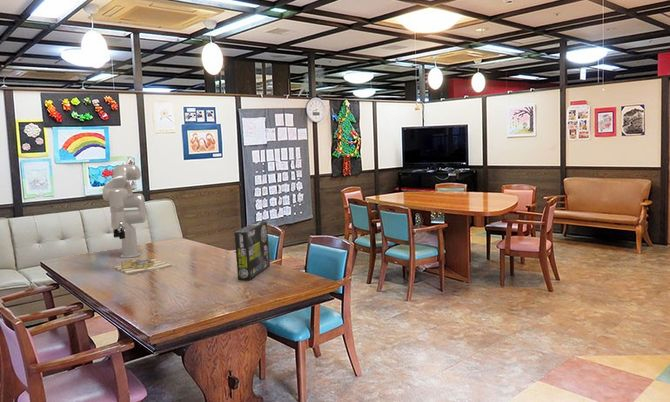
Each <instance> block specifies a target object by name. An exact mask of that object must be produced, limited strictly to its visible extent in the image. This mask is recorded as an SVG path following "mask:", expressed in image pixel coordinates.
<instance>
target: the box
mask: <svg viewBox="0 0 670 402" xmlns="http://www.w3.org/2000/svg"><path fill="white" fill-rule="evenodd" d="M268 233H269V232H268V222H267V221H255V222H253V223H251V224H248V225H246V226H244V227H242V228H240V229H238V230H236V231H234V233H233V234H234V244H235V257H236V258H235V259H236V268H237V271H236V273H237V280H238V281H251V280H253V279H254V278H255V277H256V276H258V275H259V274H260V273H262V272H263V271H265V270H266V269H267V268H268V267H270V264H271V263H270V262H271V261H270V249H269V247H270V245H269V234H268Z"/></svg>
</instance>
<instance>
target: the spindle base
mask: <svg viewBox="0 0 670 402" xmlns="http://www.w3.org/2000/svg"><path fill="white" fill-rule="evenodd" d="M139 260H140V261H136V260H135V261H134V262H135V263H138V265H141V264H144V263H146V262H147V263H149V260H147V259H142V260H141V259H139ZM151 260H154V262H155V264H154V265H152V266H149V267H143V268H126V269H122V267H121V264H120V265H114V266H112V268H113V269H114V270H116V271H119V272H120V273H123V274H125V275H127V276H131V275H136V274H141V273H146V272H151V271H157V270H162V269H168V268H172V266H173V265H172V264H171V263H168V262H164V261H161V260H158V259H156V258H154V259H153V258H152V259H151Z"/></svg>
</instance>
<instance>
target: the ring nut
mask: <svg viewBox="0 0 670 402" xmlns="http://www.w3.org/2000/svg"><path fill="white" fill-rule="evenodd" d="M140 260H141V259H136V260H135V261H134V260H133V259H132V258H128V259H124V260H123V259H122V260H120V265H121V267H122V269H126V268H143V267H149V266H152V265H154V264H155V262H154V260H152V259H150V258H147V259H146V260H149V263H147V262H146V263H144V264H141V265H138V263H135V262H136V261H140Z"/></svg>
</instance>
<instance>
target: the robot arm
mask: <svg viewBox="0 0 670 402" xmlns="http://www.w3.org/2000/svg"><path fill="white" fill-rule="evenodd" d="M141 173H142V172H141V169H140V168H139V166H137V165H136V164H132V163H131V164H129V163H128V164H118V165H116V166H115V168H114V169H113V170H112V178H111V179H109V180H108V181H106V183H105V184H104V185H103V188H102V198H103V200H104V201H106V202H109V211H110V224H111V225H110V227H111V228H112V231H113V238H119V239H120V240H121V247H122V250H121V251H122V254H121V255H120V258H121V259H132V258H136V257H139V256H141V253H140V252H138V241H137V231H136V228H135V227H134V226H133V224H143V223H146V220H147V214H146V202H145V196H144V194H142V193H138V192H137V193H133V186H132V184H131V183H130V182H129V181H138V180H140V179H141V175H142V174H141Z"/></svg>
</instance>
